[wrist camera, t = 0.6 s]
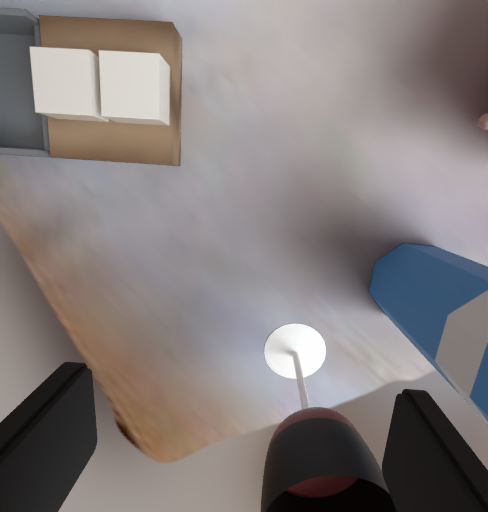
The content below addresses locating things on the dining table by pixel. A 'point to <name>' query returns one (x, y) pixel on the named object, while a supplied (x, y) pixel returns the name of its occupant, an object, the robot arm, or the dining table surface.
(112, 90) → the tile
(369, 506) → the wineglass
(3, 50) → the tray
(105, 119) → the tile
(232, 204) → the dining table surface
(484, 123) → the pomegranate
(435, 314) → the water bottle
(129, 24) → the board
